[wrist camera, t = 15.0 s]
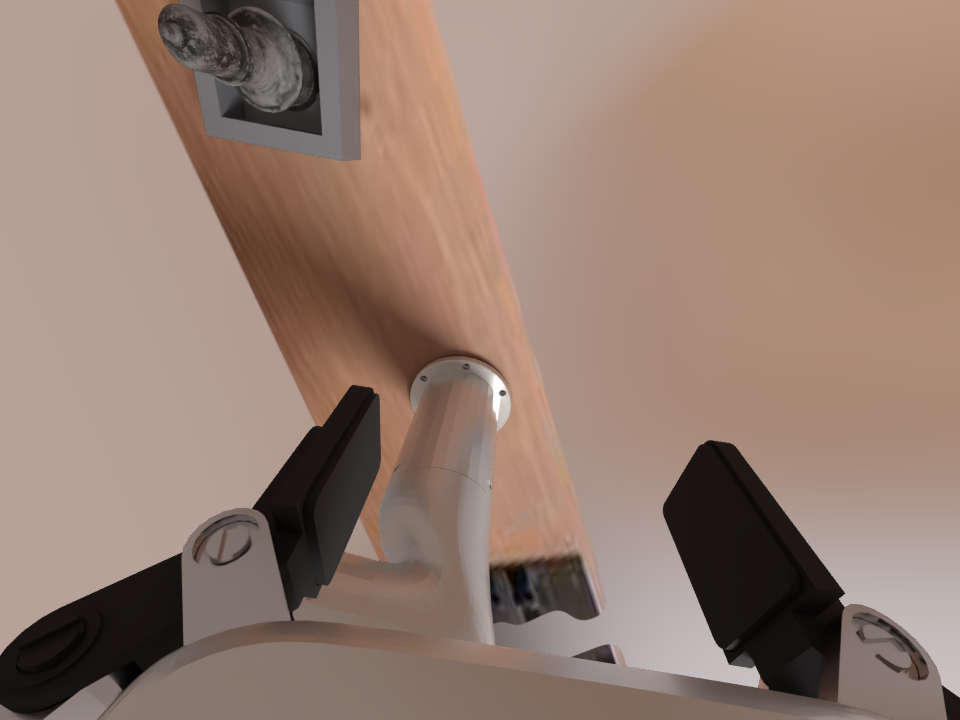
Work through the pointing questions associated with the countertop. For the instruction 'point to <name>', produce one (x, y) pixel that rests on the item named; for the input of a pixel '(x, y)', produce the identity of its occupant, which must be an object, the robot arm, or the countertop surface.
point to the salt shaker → (244, 54)
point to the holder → (336, 112)
